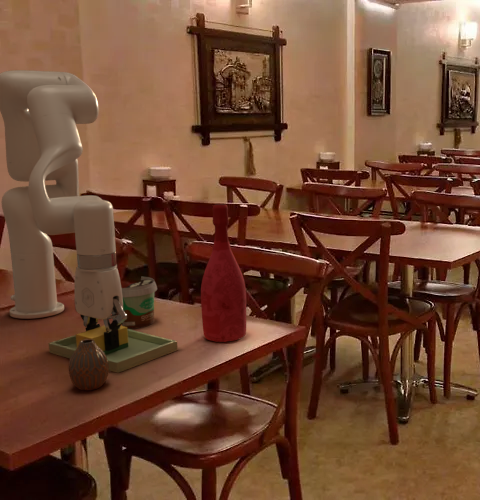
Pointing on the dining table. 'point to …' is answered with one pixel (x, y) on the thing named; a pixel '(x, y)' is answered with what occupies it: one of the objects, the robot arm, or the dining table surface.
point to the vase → (88, 366)
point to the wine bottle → (223, 287)
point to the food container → (139, 303)
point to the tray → (123, 350)
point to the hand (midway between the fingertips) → (103, 345)
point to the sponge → (98, 338)
